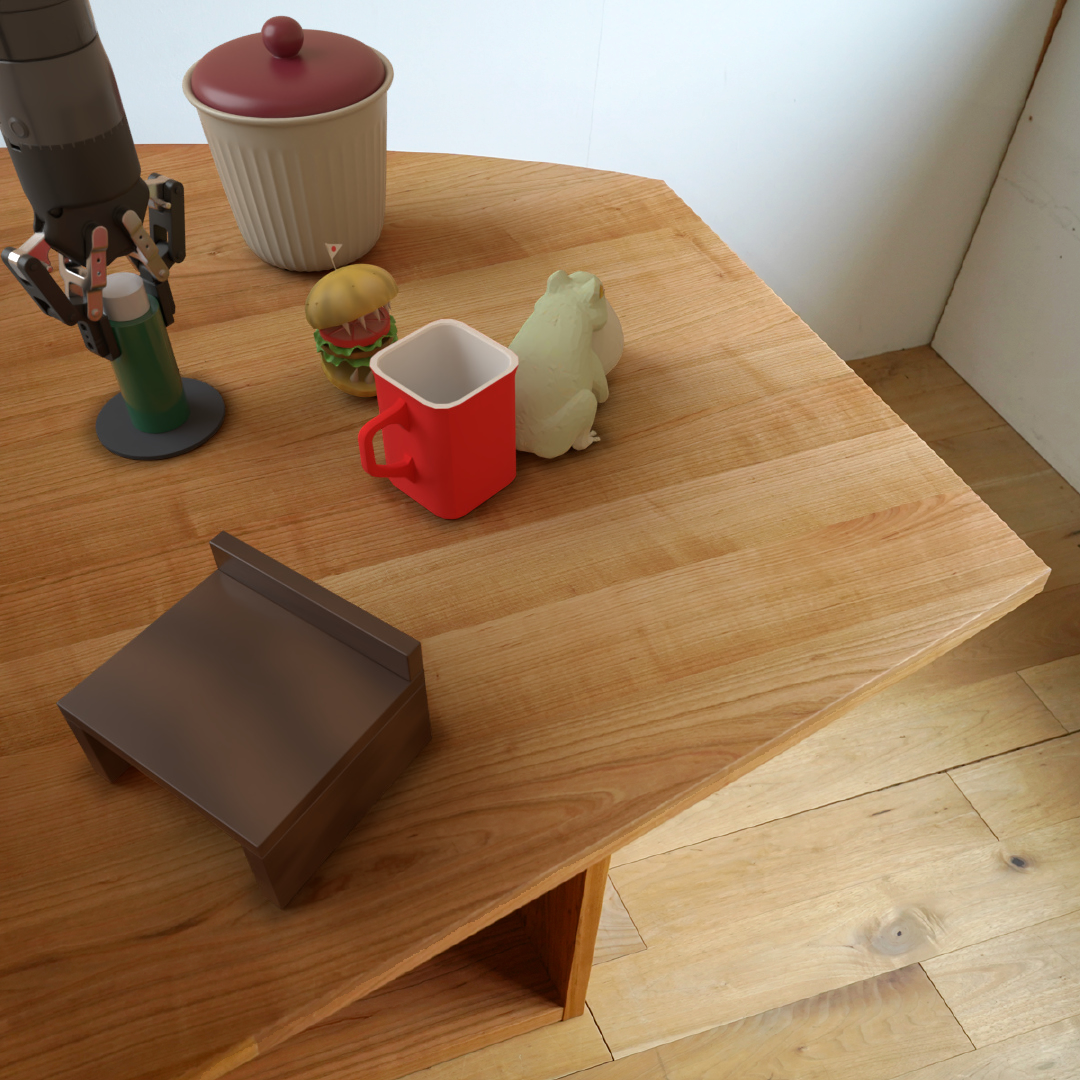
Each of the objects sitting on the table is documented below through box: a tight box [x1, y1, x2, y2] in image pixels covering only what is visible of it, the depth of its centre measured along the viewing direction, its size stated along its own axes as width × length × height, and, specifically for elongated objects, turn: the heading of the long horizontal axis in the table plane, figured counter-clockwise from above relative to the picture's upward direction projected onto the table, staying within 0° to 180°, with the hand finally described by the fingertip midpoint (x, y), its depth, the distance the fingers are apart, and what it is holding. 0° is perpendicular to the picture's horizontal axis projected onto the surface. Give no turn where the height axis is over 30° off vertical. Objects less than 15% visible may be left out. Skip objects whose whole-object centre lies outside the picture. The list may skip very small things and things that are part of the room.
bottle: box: [102, 271, 190, 433], centre depth 79 cm, size 5×5×12 cm
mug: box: [357, 318, 519, 520], centre depth 74 cm, size 12×8×11 cm
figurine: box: [507, 269, 625, 459], centre depth 82 cm, size 10×16×10 cm, turn 157°
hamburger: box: [304, 243, 400, 398], centre depth 83 cm, size 8×7×12 cm
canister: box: [181, 15, 395, 273], centre depth 94 cm, size 18×18×21 cm
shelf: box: [56, 530, 433, 910], centre depth 58 cm, size 13×15×9 cm
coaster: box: [95, 376, 226, 461], centre depth 83 cm, size 10×10×1 cm
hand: (135, 337), depth 77 cm, fingers closed on bottle, 4 cm apart
